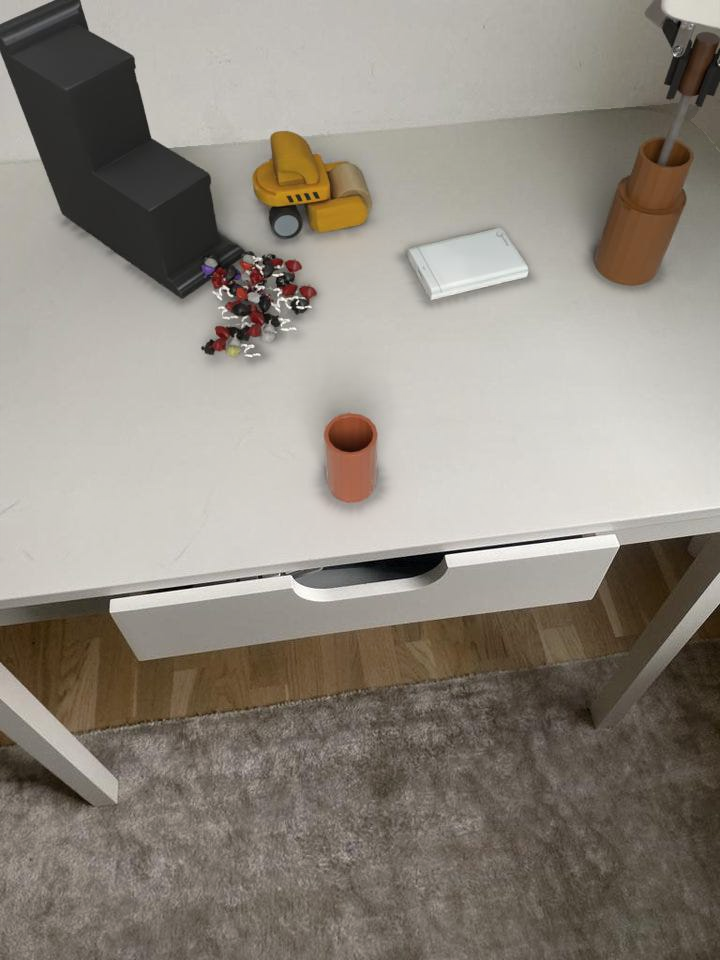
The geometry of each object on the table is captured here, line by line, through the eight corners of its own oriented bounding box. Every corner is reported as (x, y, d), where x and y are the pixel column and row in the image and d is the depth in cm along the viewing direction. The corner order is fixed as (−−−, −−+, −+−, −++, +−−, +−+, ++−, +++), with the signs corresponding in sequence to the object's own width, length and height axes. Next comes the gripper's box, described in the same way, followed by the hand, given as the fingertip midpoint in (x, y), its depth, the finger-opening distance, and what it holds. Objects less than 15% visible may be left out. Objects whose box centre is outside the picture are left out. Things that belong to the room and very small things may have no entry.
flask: (670, 269, 93) (719, 158, 80) (625, 294, 90) (668, 183, 78) (625, 235, 96) (665, 123, 84) (581, 258, 94) (615, 147, 81)
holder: (385, 487, 75) (387, 439, 69) (344, 511, 74) (343, 464, 67) (358, 454, 78) (357, 405, 71) (318, 476, 76) (314, 428, 69)
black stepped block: (247, 255, 94) (217, 64, 74) (181, 301, 90) (130, 111, 70) (127, 178, 103) (71, -12, 83) (61, 217, 98) (-14, 26, 79)
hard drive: (501, 225, 95) (407, 246, 93) (529, 268, 90) (432, 291, 88) (499, 236, 96) (406, 257, 94) (527, 279, 92) (430, 301, 90)
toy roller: (375, 228, 97) (376, 154, 88) (263, 245, 95) (253, 170, 86) (360, 186, 102) (360, 111, 93) (253, 201, 100) (243, 126, 91)
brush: (660, 219, 87) (731, 40, 71) (642, 229, 87) (709, 49, 70) (641, 205, 89) (706, 26, 72) (623, 214, 88) (684, 35, 71)
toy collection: (179, 273, 91) (175, 244, 86) (296, 256, 94) (298, 227, 90) (206, 375, 84) (203, 349, 80) (330, 352, 88) (333, 327, 84)
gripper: (882, -129, 60) (775, 96, 76) (679, -162, 64) (617, 59, 79) (872, -93, 56) (762, 137, 72) (658, -130, 60) (597, 95, 76)
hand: (687, 94), depth 75 cm, fingers closed on brush, 2 cm apart
